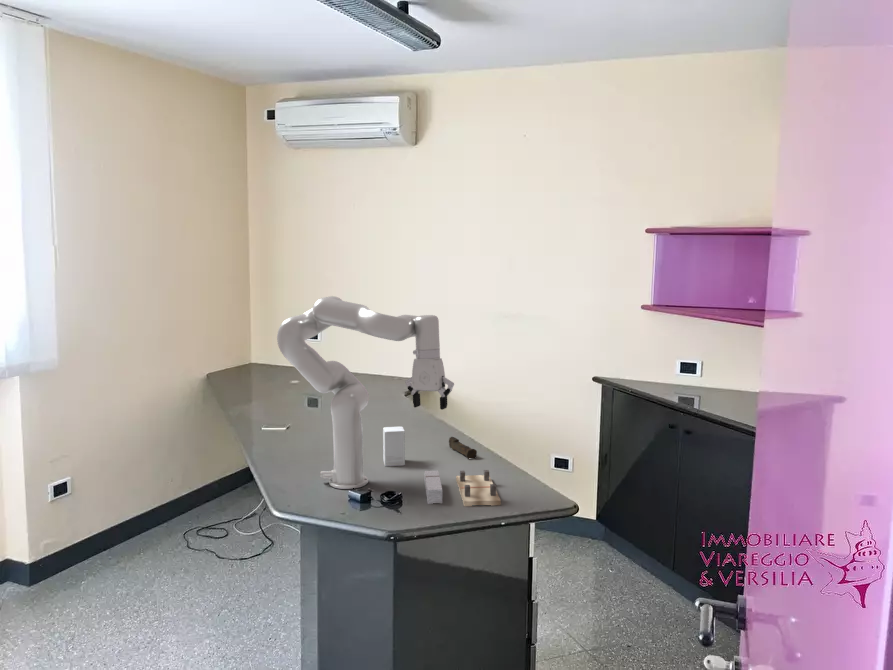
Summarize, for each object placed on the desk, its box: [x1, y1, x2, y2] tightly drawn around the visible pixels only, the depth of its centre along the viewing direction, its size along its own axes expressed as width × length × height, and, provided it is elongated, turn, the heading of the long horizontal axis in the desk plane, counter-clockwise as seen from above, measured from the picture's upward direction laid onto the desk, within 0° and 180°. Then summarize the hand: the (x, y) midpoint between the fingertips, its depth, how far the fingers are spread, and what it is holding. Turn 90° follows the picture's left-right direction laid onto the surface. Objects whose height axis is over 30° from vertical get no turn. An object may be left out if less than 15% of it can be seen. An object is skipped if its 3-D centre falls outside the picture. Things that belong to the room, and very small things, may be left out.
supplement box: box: [382, 426, 406, 467], centre depth 243 cm, size 7×7×13 cm
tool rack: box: [455, 469, 502, 507], centre depth 213 cm, size 11×24×4 cm, turn 5°
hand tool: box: [448, 436, 478, 460], centre depth 257 cm, size 19×4×5 cm, turn 24°
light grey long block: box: [424, 470, 443, 505], centre depth 212 cm, size 4×18×4 cm, turn 5°
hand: (430, 407), depth 215 cm, fingers open, 9 cm apart
